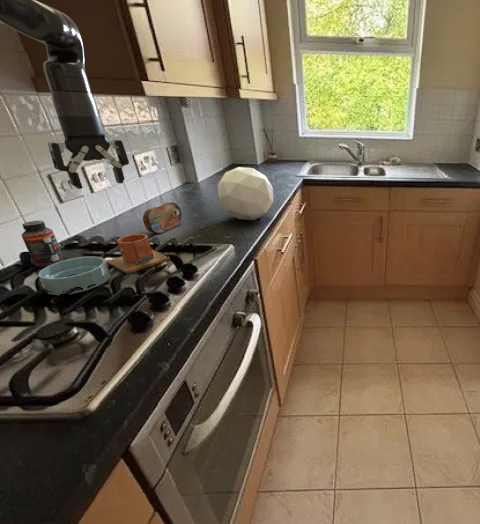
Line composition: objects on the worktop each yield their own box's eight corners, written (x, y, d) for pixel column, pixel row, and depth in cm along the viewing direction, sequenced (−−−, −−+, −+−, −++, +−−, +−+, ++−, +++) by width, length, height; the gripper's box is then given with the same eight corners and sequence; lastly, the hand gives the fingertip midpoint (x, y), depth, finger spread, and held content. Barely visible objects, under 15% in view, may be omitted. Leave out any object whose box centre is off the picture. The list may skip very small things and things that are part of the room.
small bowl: (131, 266, 86) (124, 244, 83) (120, 260, 89) (113, 239, 87) (157, 257, 91) (151, 237, 88) (145, 252, 94) (139, 232, 91)
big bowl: (57, 302, 71) (49, 284, 69) (38, 286, 77) (30, 269, 75) (119, 281, 80) (114, 264, 78) (98, 268, 86) (93, 252, 84)
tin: (154, 236, 107) (146, 211, 104) (145, 236, 108) (138, 210, 104) (184, 222, 121) (179, 199, 117) (176, 221, 121) (171, 199, 118)
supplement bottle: (66, 262, 89) (50, 222, 84) (36, 269, 85) (17, 228, 80) (62, 256, 92) (46, 217, 88) (33, 262, 88) (15, 222, 84)
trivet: (126, 274, 83) (125, 271, 83) (107, 263, 89) (106, 260, 89) (170, 259, 92) (169, 257, 91) (150, 250, 97) (149, 248, 97)
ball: (263, 236, 128) (274, 203, 113) (208, 221, 121) (212, 183, 107) (272, 202, 139) (283, 167, 124) (222, 186, 132) (227, 147, 118)
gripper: (107, 113, 82) (125, 179, 89) (31, 113, 72) (58, 187, 78) (121, 115, 79) (138, 183, 85) (42, 114, 68) (70, 192, 75)
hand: (100, 185), depth 82 cm, fingers open, 8 cm apart
